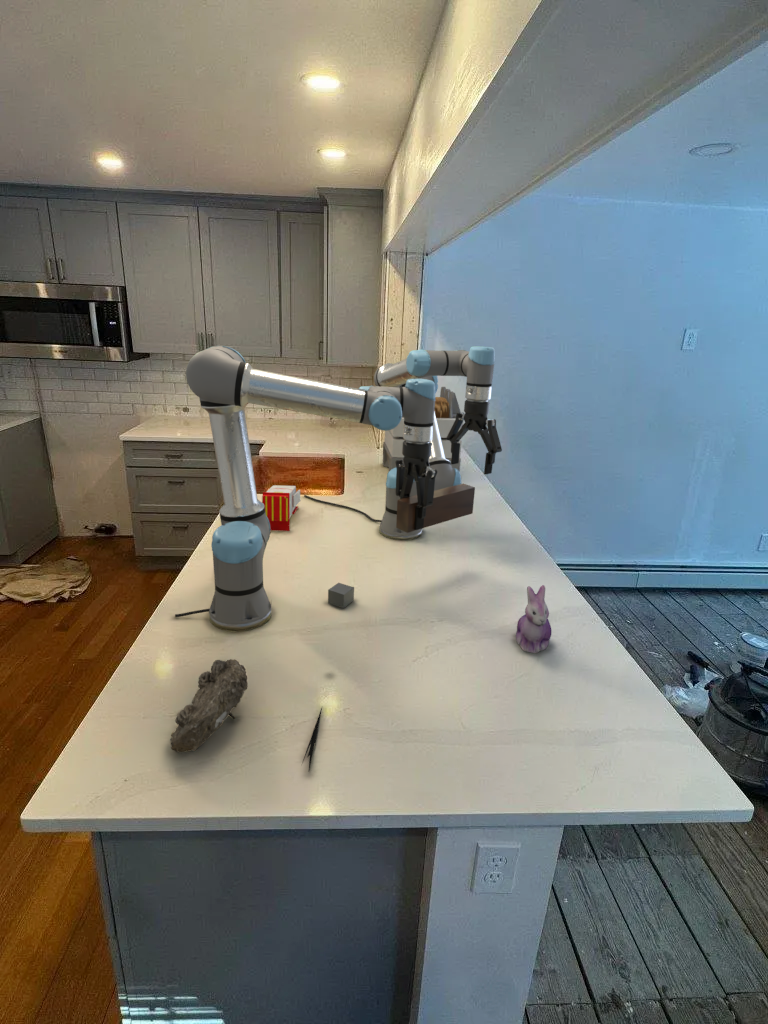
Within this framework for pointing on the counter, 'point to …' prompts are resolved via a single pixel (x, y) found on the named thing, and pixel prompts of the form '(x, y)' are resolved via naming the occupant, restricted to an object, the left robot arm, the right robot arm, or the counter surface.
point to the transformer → (445, 419)
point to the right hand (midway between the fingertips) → (470, 468)
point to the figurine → (534, 623)
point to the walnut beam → (437, 507)
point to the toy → (280, 506)
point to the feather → (313, 740)
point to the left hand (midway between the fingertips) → (412, 525)
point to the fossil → (210, 704)
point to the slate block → (341, 595)
